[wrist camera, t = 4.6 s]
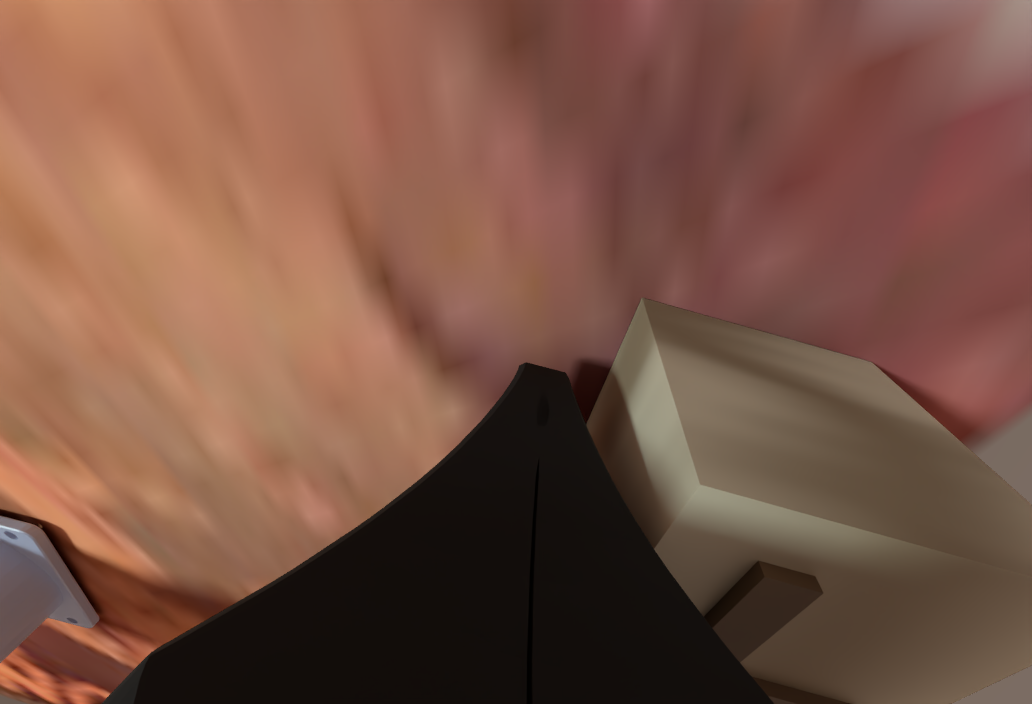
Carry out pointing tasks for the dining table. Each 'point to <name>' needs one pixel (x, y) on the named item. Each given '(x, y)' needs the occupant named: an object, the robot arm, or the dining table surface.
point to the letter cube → (816, 514)
